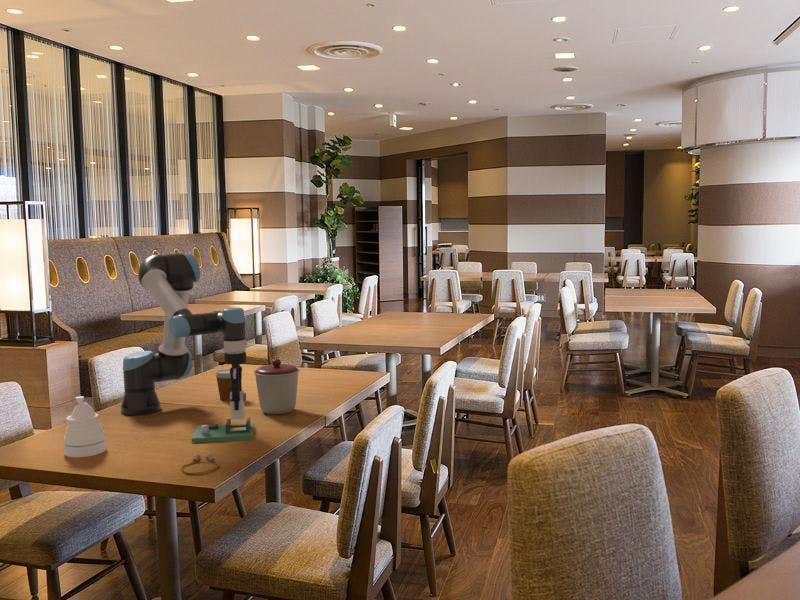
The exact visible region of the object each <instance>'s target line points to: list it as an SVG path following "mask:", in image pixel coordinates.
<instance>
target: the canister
mask: <svg viewBox="0 0 800 600" xmlns="http://www.w3.org/2000/svg"><path fill="white" fill-rule="evenodd" d="M300 371H301V369H300V368H299V367H297V366H295V365H293V364H287V363H282V360H281V359H280V358H274V359H272V361H271V364H267V365H262V366H259V367H257V369H255V370H253V374H254V376H255V382H256V388H257V396H258V402H259V406H260V410H261V411H262V412H263V413H264V414H268V415H284V414H289V413H291V412H292V411H294V409H295V407H296V404H297V395H298V381H299V373H300Z"/></svg>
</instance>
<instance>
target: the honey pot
mask: <svg viewBox="0 0 800 600" xmlns="http://www.w3.org/2000/svg"><path fill="white" fill-rule="evenodd" d="M84 399H85V396H82V395H81V396H76V397H75V401H76V402H77V403H78V404H76V405H75V407H74V409H73V411H72V412H71V415H68V416H67V417H66V418H65V421H66V422H67V426H66V428H65V430H66V431H65V434H64V436H63V453H64V456H65V457H68V458H86V457H93V456H96V455H100V454H101V453H103V452H104V453H105V451H107V443H106V442H107V441H106V440H107V439H106V433H105V431H104V428H103V427H102V423H101V422H100V419H99V418H100V417H99V414H98V413H96V412H95V410H94V409H93V407H92V406H91V405H90V404H88V403H87V402H86V401H84Z"/></svg>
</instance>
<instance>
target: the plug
mask: <svg viewBox="0 0 800 600" xmlns="http://www.w3.org/2000/svg"><path fill="white" fill-rule="evenodd" d="M230 400H232V392H231V393H230ZM230 400H229V405H230V409H229V410H230V419H231V421H232V420H234V419H233V401H230ZM240 400H241V419H240V420H244V419H245V416H246V415H245V413H246V411H245V408H246V406H245V402H246V401H247V392H245V391H244V390H242V391H240Z"/></svg>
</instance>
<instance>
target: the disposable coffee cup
mask: <svg viewBox="0 0 800 600" xmlns="http://www.w3.org/2000/svg"><path fill="white" fill-rule="evenodd" d="M230 369H231V368H229V369H228V368H227V369H220V370H217V371H216V372H215V374H214V376H215V378H216V382H217V388H218V394H219V400H220V401H222V402H223V401H226V402H227V401H229V402H230V393H231V392H232V386H231V375H230Z"/></svg>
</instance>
